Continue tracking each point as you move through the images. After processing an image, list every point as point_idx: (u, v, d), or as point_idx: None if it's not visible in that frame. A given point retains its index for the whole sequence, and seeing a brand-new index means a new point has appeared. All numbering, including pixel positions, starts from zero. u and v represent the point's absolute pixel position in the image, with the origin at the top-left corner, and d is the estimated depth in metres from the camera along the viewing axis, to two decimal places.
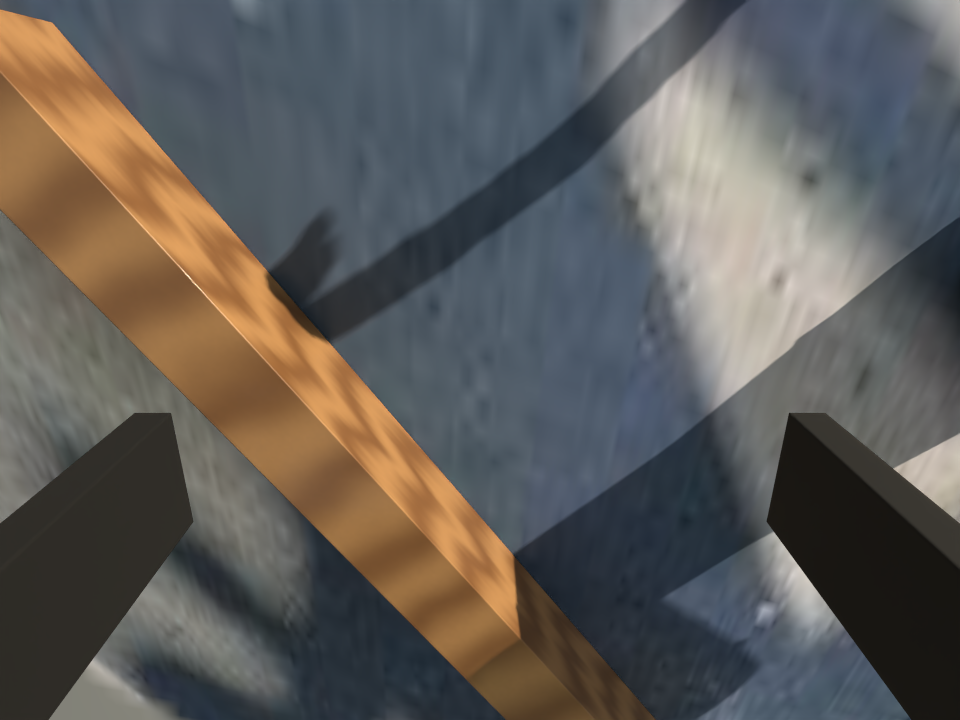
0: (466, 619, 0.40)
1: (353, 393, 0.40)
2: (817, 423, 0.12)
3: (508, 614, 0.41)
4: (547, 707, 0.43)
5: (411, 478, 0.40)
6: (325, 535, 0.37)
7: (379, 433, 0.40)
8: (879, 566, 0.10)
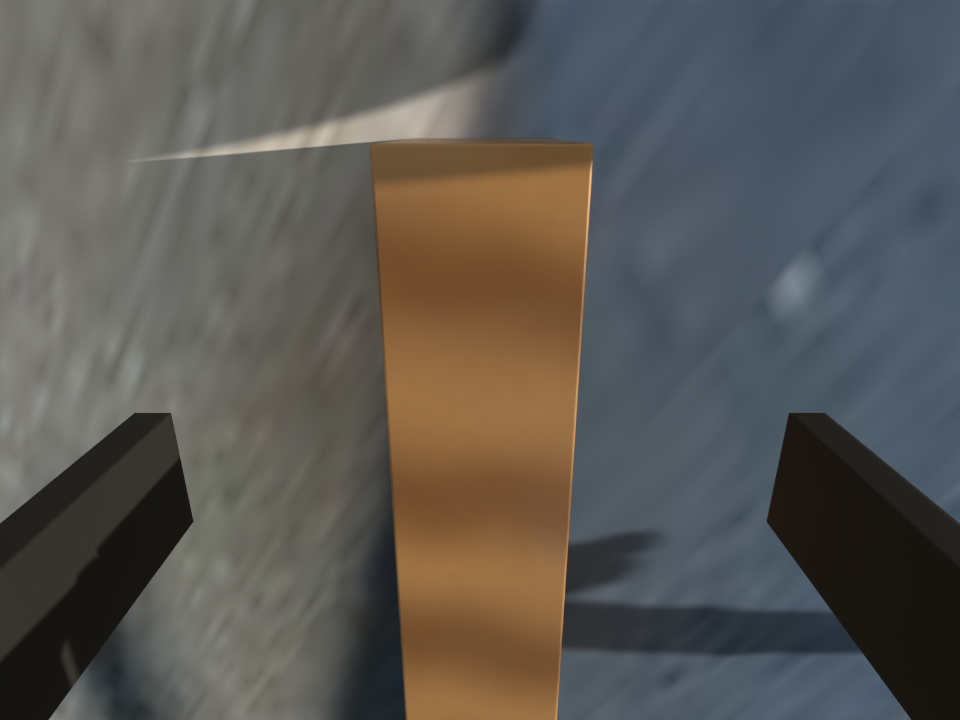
0: None
1: None
2: (817, 423, 0.12)
3: None
4: None
5: None
6: None
7: None
8: (879, 566, 0.10)
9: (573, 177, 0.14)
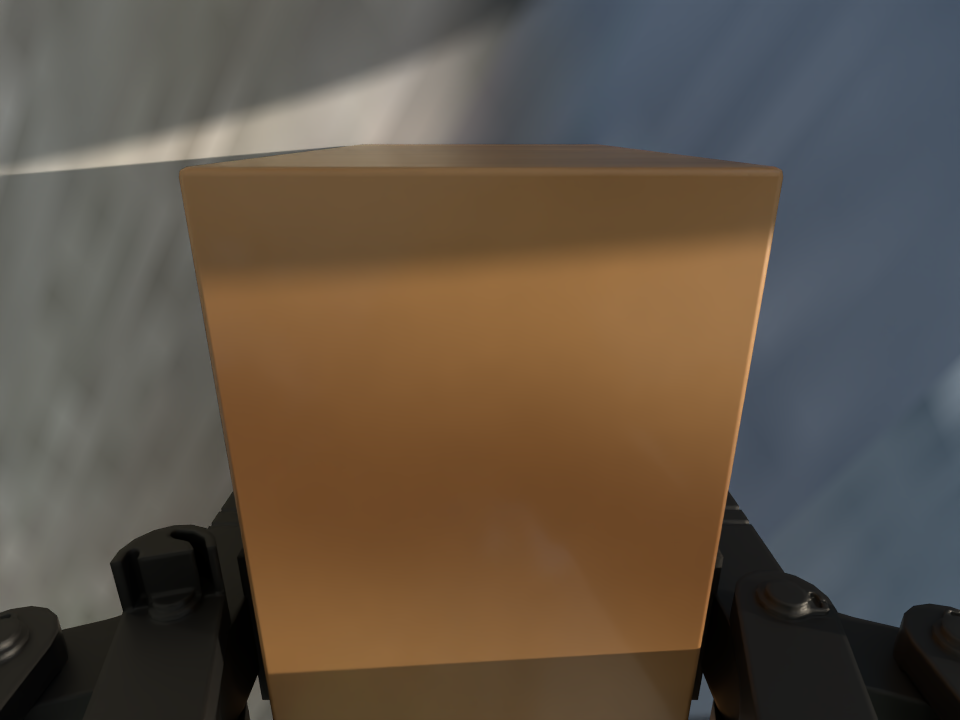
0: None
1: None
2: None
3: None
4: None
5: None
6: None
7: None
8: None
9: (722, 254, 0.05)
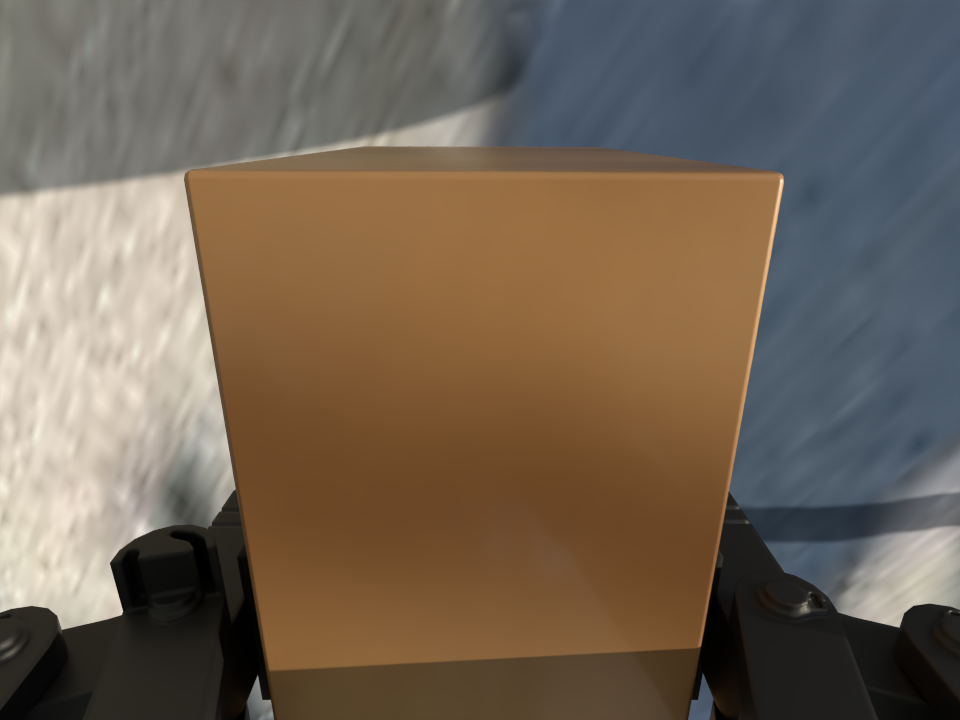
0: None
1: None
2: None
3: None
4: None
5: None
6: None
7: None
8: None
9: (723, 258, 0.05)
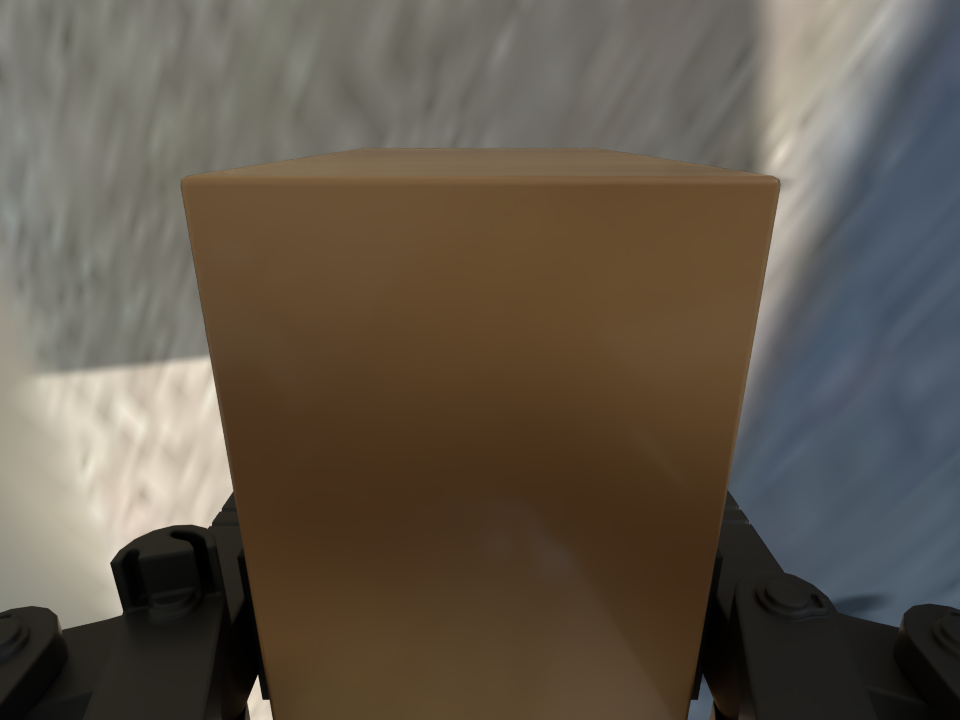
0: None
1: None
2: None
3: None
4: None
5: None
6: None
7: None
8: None
9: (720, 263, 0.05)
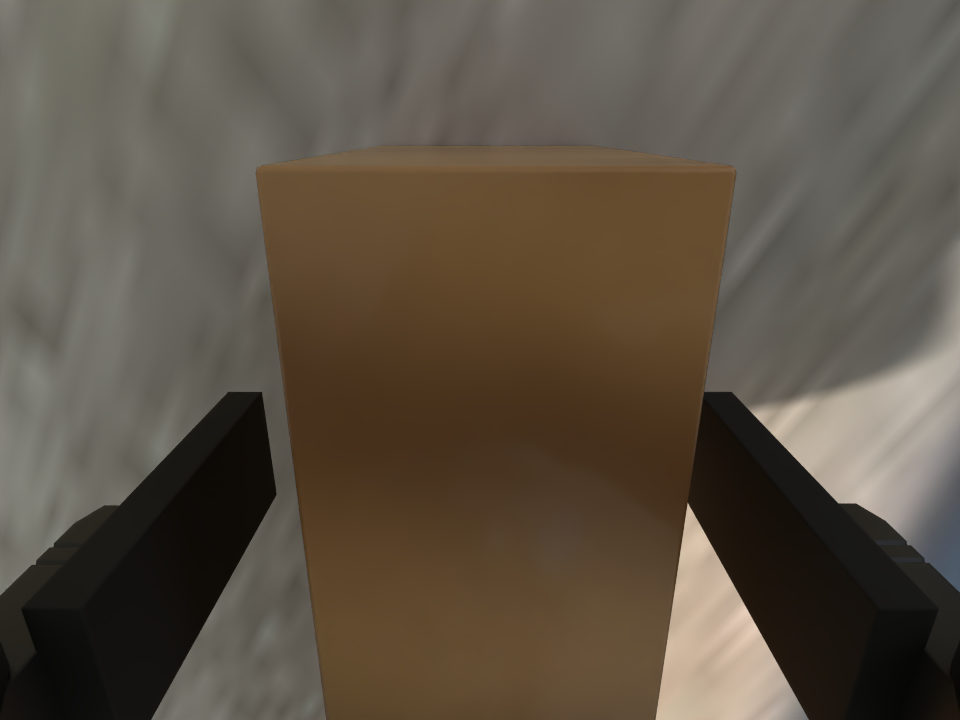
0: None
1: None
2: (721, 400, 0.13)
3: None
4: None
5: None
6: None
7: None
8: (755, 525, 0.11)
9: (688, 236, 0.07)
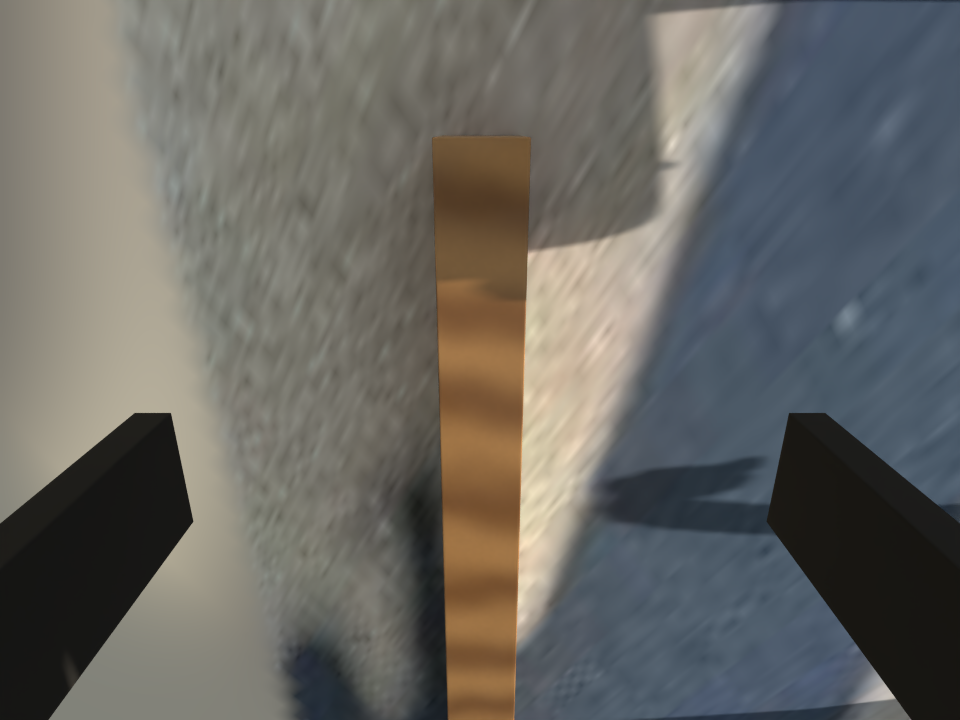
0: None
1: None
2: (817, 423, 0.12)
3: None
4: None
5: None
6: (446, 618, 0.43)
7: None
8: (879, 566, 0.10)
9: (522, 152, 0.32)
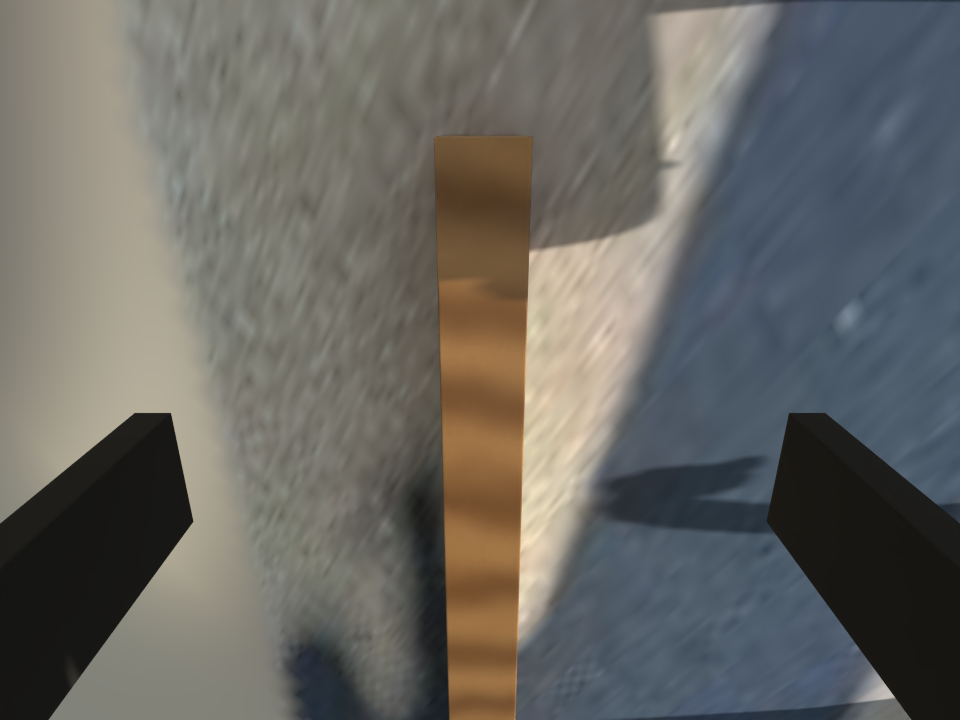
0: None
1: None
2: (817, 423, 0.12)
3: None
4: None
5: None
6: (448, 617, 0.43)
7: None
8: (879, 566, 0.10)
9: (523, 151, 0.32)
